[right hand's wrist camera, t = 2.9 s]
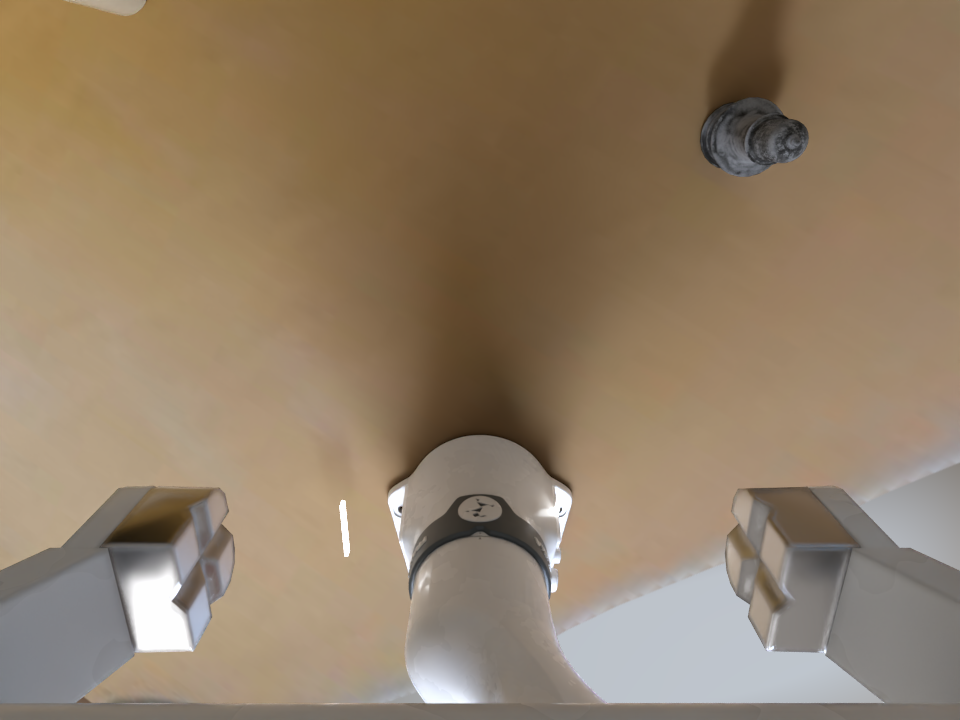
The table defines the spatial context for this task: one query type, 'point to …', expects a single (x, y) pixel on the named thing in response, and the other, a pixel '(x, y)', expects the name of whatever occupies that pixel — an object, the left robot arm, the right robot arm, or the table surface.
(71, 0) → the jar
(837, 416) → the table surface
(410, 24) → the table surface
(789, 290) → the table surface
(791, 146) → the grey chess piece
